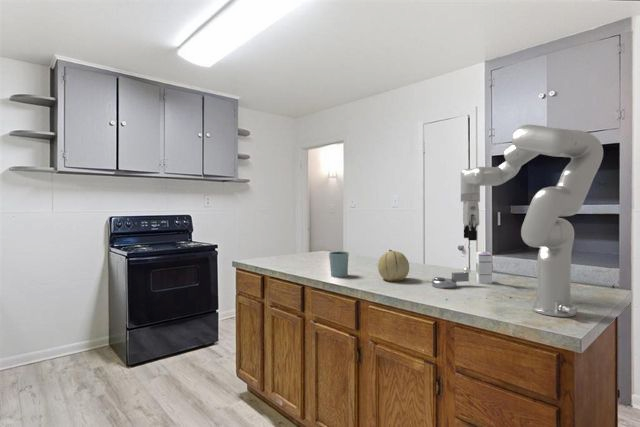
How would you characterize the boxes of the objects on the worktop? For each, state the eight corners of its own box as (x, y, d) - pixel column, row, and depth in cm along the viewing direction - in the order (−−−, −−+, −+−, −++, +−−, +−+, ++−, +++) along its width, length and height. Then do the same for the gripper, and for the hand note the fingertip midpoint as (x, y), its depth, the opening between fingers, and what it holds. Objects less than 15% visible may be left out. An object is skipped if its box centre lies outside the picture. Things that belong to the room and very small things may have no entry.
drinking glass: (352, 276, 190) (351, 253, 190) (333, 278, 187) (333, 254, 186) (343, 273, 200) (343, 250, 199) (326, 275, 196) (325, 252, 196)
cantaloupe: (395, 286, 166) (395, 253, 166) (371, 281, 178) (371, 250, 177) (416, 282, 176) (416, 250, 175) (391, 277, 187) (391, 247, 187)
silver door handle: (437, 289, 156) (437, 270, 156) (428, 284, 166) (428, 266, 166) (475, 287, 158) (475, 269, 158) (464, 282, 168) (464, 265, 168)
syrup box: (492, 286, 166) (492, 253, 165) (478, 285, 167) (478, 253, 166) (489, 283, 171) (489, 251, 171) (475, 283, 172) (475, 251, 172)
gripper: (484, 198, 149) (484, 241, 149) (475, 198, 166) (474, 237, 166) (464, 198, 150) (464, 241, 151) (457, 198, 167) (457, 237, 168)
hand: (470, 239), depth 158 cm, fingers open, 9 cm apart
